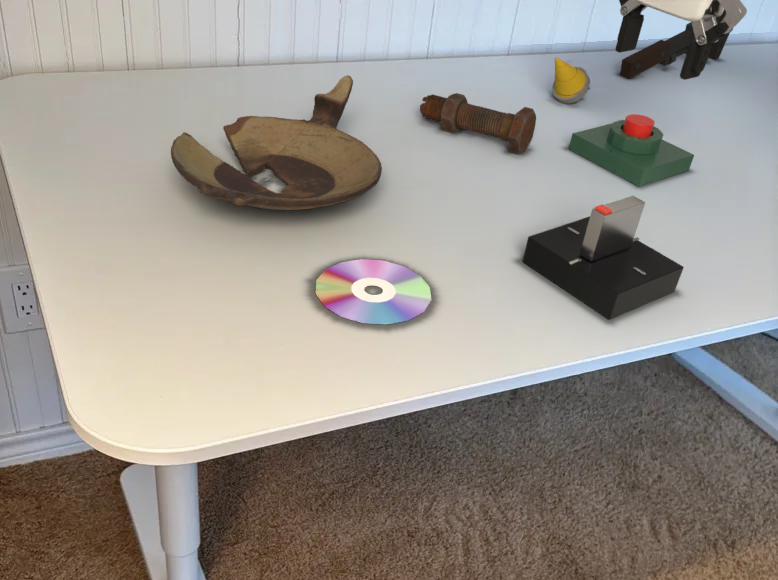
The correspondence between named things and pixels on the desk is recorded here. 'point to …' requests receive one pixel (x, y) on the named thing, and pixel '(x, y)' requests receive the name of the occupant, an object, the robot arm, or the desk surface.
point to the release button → (638, 125)
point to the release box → (631, 153)
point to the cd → (395, 304)
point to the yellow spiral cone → (569, 82)
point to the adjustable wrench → (667, 51)
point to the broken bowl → (285, 159)
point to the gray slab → (611, 228)
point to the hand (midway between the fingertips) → (656, 63)
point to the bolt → (481, 120)
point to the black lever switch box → (602, 270)
